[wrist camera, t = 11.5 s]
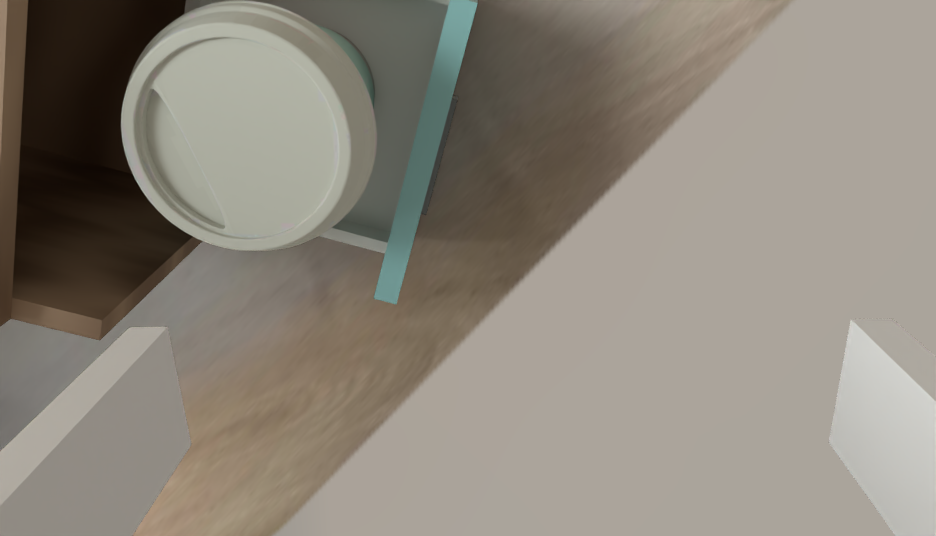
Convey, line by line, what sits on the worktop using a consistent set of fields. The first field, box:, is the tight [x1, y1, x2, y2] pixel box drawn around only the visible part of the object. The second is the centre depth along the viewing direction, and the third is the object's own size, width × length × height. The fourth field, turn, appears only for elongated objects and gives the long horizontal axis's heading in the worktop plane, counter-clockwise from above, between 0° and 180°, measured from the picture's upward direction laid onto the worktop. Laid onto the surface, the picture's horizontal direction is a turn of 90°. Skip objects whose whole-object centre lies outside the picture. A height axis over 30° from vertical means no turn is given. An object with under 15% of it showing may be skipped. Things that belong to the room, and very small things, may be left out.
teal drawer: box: [184, 0, 478, 304], centre depth 32 cm, size 12×13×8 cm
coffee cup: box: [121, 1, 377, 251], centre depth 29 cm, size 8×8×12 cm
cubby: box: [0, 0, 202, 340], centre depth 28 cm, size 12×15×16 cm
